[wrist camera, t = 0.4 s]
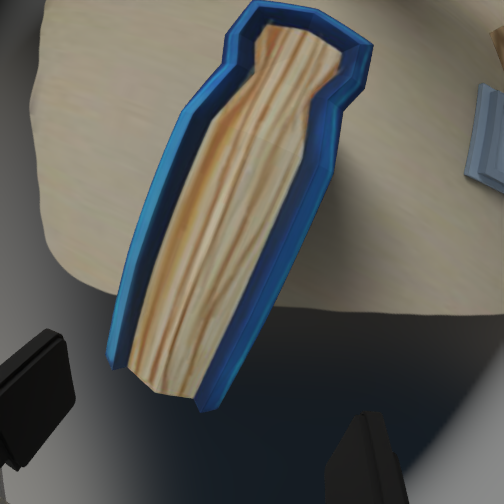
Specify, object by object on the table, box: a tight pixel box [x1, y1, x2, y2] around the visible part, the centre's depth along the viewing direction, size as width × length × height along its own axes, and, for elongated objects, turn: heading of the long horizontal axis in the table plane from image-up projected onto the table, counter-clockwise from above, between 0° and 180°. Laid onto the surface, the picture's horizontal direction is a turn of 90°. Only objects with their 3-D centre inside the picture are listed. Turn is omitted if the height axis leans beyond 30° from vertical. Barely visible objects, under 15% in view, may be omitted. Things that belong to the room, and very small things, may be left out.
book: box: [105, 0, 374, 413], centre depth 25 cm, size 22×7×25 cm, turn 157°
